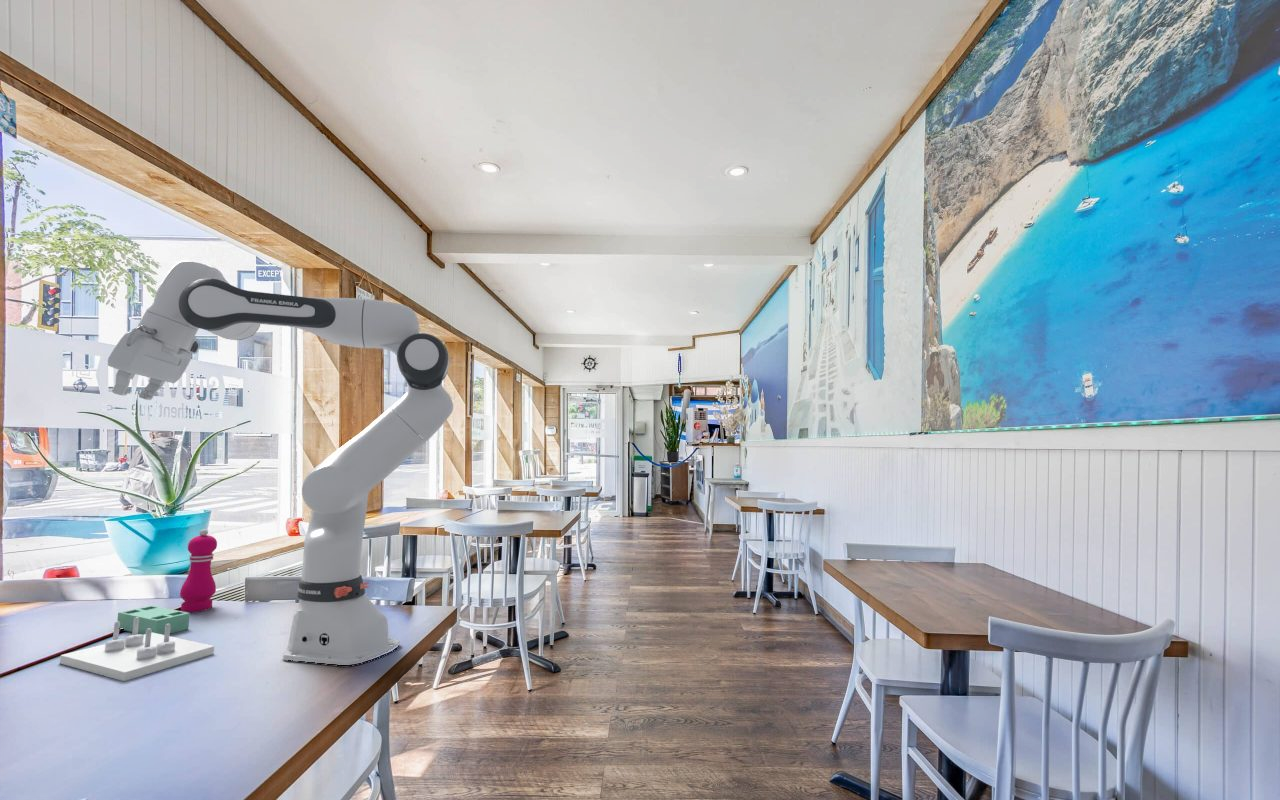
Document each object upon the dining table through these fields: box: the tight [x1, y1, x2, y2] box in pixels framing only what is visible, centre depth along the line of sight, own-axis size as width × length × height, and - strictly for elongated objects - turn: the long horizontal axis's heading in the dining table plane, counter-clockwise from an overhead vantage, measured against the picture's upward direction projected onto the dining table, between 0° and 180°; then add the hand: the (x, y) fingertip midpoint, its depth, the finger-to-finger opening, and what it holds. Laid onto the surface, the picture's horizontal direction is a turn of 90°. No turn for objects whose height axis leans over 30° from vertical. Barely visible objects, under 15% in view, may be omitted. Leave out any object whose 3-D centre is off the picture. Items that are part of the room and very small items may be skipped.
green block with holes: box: [116, 605, 191, 635], centre depth 128 cm, size 14×6×4 cm, turn 69°
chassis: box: [59, 617, 215, 682], centre depth 111 cm, size 20×15×7 cm
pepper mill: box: [179, 528, 218, 613], centre depth 145 cm, size 7×7×20 cm
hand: (132, 396), depth 113 cm, fingers open, 8 cm apart
